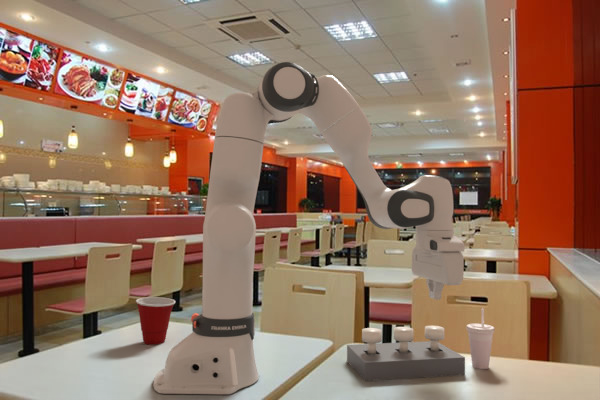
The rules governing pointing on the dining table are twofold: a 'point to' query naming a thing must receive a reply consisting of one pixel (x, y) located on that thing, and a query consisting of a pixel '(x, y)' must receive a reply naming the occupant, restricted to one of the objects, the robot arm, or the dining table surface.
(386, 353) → the console
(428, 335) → the knob
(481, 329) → the smoothie
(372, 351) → the knob
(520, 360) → the dining table surface
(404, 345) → the knob middle
